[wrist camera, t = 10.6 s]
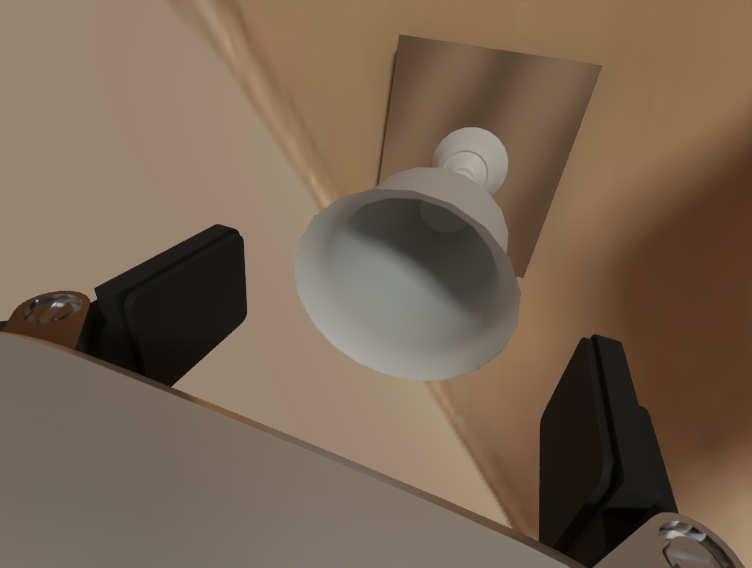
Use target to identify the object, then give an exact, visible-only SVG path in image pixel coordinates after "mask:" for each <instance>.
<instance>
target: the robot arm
mask: <svg viewBox="0 0 752 568" xmlns="http://www.w3.org/2000/svg"><path fill="white" fill-rule="evenodd" d="M95 293H96V296H97V300H95V301H94V302H92V303H91V302H90V299H89V298H88V297H87V296H86V295H84V294H82V293H80V292H75V291H56V292H49V293H46V294H42V295H38V296H36V297H33V298H31V299H29V300H27V301H25V302H23V303H22V304H20V305H19V306H18V307H17V308H16V309H15V310H14V311H13V313H12V315H11V317H10V318H9V320H8V321H1V322H0V568H745V567H744V565H743V564H742V563H741V561H740V560H739V559H738V557H737V556H736V554H735V553H734V552H733V550H732V549H731V548H730V547H729V546H728V545H727V544H726V543H725V542H724V541H723V540H722V539H721V538H720V537H719V536H717V535H716V534H715V533H713V532H712V531H711V530H709V529H708V528H707V527H705V526H704V525H702V524H701V523H699V522H697V521H695V520H693V519H691V518H689V517H687V516H684V515H680V514H679V513H678V510H677V506H676V503H675V499H674V496H673V493H672V489H671V486H670V483H669V479H668V476H667V472H666V469H665V466H664V462H663V459H662V455H661V452H660V449H659V445H658V442H657V438H656V435H655V432H654V428H653V425H652V421H651V418H650V415H649V413H648V411H647V409H645V408H644V407H642V406H639V405H638V401H637V397H636V394H635V390H634V386H633V383H632V379H631V375H630V371H629V368H628V364H627V360H626V357H625V353H624V349H623V346H622V343H621V342H620V341H617V340H613V339H610V338H606V337H603V336H600V335H596V334H594V335H593V336H592V337H591V338H590V339H588V338H585V337H583V338H582V339H581V340H580V342H579V344H578V346H577V348H576V350H575V352H574V354H573V356H572V358H571V360H570V362H569V364H568V366H567V368H566V369H565V371H564V373H563V375H562V377H561V379H560V381H559V383H558V385H557V387H556V389H555V391H554V393H553V395H552V397H551V399H550V401H549V403H548V405H547V407H546V409H545V411H544V413H543V415H542V418H541V423H540V487H539V542H538V541H536V540H534V539H532V538H530V537H528V536H526V535H524V534H522V533H520V532H518V531H515V530H513V529H511V528H508V527H506V526H504V525H502V524H499V523H497V522H495V521H492V520H490V519H488V518H485V517H483V516H481V515H478V514H476V513H474V512H472V511H469V510H467V509H465V508H462V507H460V506H458V505H455V504H453V503H451V502H449V501H446V500H444V499H442V498H439V497H437V496H434V495H432V494H430V493H427V492H425V491H422V490H420V489H418V488H415V487H413V486H411V485H408V484H406V483H403V482H401V481H399V480H396V479H393V478H391V477H389V476H386V475H384V474H382V473H379V472H377V471H374V470H372V469H370V468H367V467H365V466H362V465H360V464H358V463H355V462H353V461H350V460H348V459H346V458H343V457H341V456H338V455H336V454H334V453H331V452H329V451H326V450H324V449H321V448H319V447H317V446H314V445H312V444H309V443H307V442H304V441H302V440H299V439H297V438H294V437H292V436H290V435H287V434H285V433H282V432H280V431H278V430H275V429H273V428H270V427H268V426H265V425H263V424H261V423H258V422H255V421H253V420H251V419H248V418H246V417H243V416H241V415H238V414H236V413H233V412H231V411H229V410H226V409H224V408H221V407H219V406H216V405H214V404H211V403H209V402H207V401H204V400H202V399H199V398H197V397H194V396H192V395H189V394H187V393H184V392H182V391H179V390H177V389H174V388H172V386H173V385H174V384H175V383H176V382H177V381H178V380H179V379H180V378H182V377H183V376H184V375H185V374H186V373H187V372H188V371H189V370H190V369H191V368H192V367H194V366H195V365H196V364H197V363H198V362H199V361H200V360H202V359H203V358H204V357H205V356H206V355H207V354H208V353H209V352H210V351H211V350H212V349H214V348H215V347H216V346H217V345H218V344H219V343H220V342H221V341H223V340H224V339H225V338H226V337H227V336H228V335H229V334H230V333H232V332H233V330H235V329H236V328H237V327H238V326H239V325H240V324H241V323H242V322H243V321H244V320H245V318H246V315H247V300H246V278H245V258H244V242H243V238H242V236H240V234H239V232H238V231H237V230H236V229H234V228H230V227H227V226H223V225H220V224H217V225H214V226H212V227H210V228H208V229H206V230H204V231H202V232H200V233H199V234H196V235H195V236H193V237H191V238H189V239H187V240H185V241H183V242H181V243H179V244H177V245H176V246H174V247H172V248H170V249H168V250H166V251H164V252H162V253H161V254H158V255H157V256H155V257H153V258H151V259H149V260H147V261H145V262H143V263H142V264H140V265H138V266H136V267H134V268H132V269H130V270H128V271H126V272H124V273H122V274H120V275H119V276H117V277H115V278H113V279H111V280H109V281H107V282H105V283H103V284H101V285H100V286H98V287H96V288H95Z"/></svg>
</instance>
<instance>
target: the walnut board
mask: <svg viewBox="0 0 752 568" xmlns="http://www.w3.org/2000/svg"><path fill="white" fill-rule="evenodd" d="M601 68H602V66H601V65H594V64H588V63H581V62H575V61H568V60H562V59H555V58H549V57H542V56H536V55H529V54H523V53H516V52H510V51H503V50H496V49H490V48H483V47H477V46H470V45H464V44H457V43H451V42H444V41H438V40H431V39H425V38H418V37H412V36H405V35H399V41H398V48H397V55H396V63H395V70H394V77H393V84H392V92H391V99H390V106H389V113H388V120H387V128H386V135H385V142H384V149H383V157H382V164H381V171H380V178H379V184H380V183H381V182H383V181H384V180H386V179H387V178H389V177H390V176H392V175H393V174H395V173H399V172H402V171H406V170H409V169H413V168H416V167H425V168H432V160H433V157H434V154H435V150H436V148H437V147H438V145H439V144H440V143H441V141H442V140H443V139H444V138H445V137H446V136H448V135H449V134H450V133H452V132H453V131H456V130H459V129H462V128H468V127H478V128H481V129H484V130H487V131H489V132H491V133H492V134H493V135H495V136H496V137H497V138H499V140H500V141H501V143H502V144H503V146H504V147H505V149H506V153H507V157H508V170H507V175H506V177H505V179H504V182H503V184H502V185H501V186H500V187H499V189H498V190H497V191H496V192H495V193H494V194H492V195H491V197H492V198H493V199H494V201H495V202H496V203H497V205H498V206H499V207H500V209H501V210H502V213H503V216H504V220H505V223H506V226H507V230H508V244H507V255H508V257H509V258H510V260H511V263H512V267H513V270H514V273H515V276H518V277H522V278H523V277H524V275H525V272H526V269H527V267H528V264H529V261H530V259H531V256H532V253H533V251H534V248H535V245H536V243H537V240H538V237H539V234H540V232H541V229H542V226H543V224H544V221H545V218H546V216H547V213H548V210H549V208H550V205H551V202H552V200H553V197H554V194H555V191H556V189H557V186H558V183H559V181H560V178H561V175H562V173H563V170H564V167H565V165H566V162H567V159H568V156H569V154H570V151H571V148H572V146H573V143H574V140H575V138H576V135H577V132H578V130H579V127H580V124H581V122H582V119H583V116H584V113H585V111H586V108H587V105H588V103H589V100H590V97H591V95H592V92H593V89H594V87H595V84H596V81H597V79H598V76H599V73H600V70H601Z"/></svg>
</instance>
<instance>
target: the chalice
mask: <svg viewBox="0 0 752 568" xmlns="http://www.w3.org/2000/svg"><path fill="white" fill-rule="evenodd" d="M507 170H508V157H507V153H506V149H505V147H504V146H503V144H502V143H501V141H500V140H499V138H497V137H496V136H495V135H493V134H492V133H491V132H489V131H487V130H484V129H481V128H478V127H468V128H462V129H459V130H456V131H453V132H452V133H450V134H449V135H448V136H446V137H445V138H444V139H443V140H442V141H441V143H440V144H439V145H438V147H437V148H436V150H435V154H434V157H433V160H432V168H425V167H416V168H413V169H409V170H406V171H402V172H399V173H395V174H393V175H392V176H390V177H389V178H387V179H386V180H384V181H383V182H381V183H380V184H379V185H377V186H376V187H375V188H373V189H371V190H367V191H364V192H360V193H356V194H353V195H349V196H345V197H342V198H339V199H338V200H336V201H335V202H334V203H332V204H331V205H329V206H328V207H327V208H325V209H324V210H322V211H321V212H319V213H318V214H317V215H315V216H314V217H313V219H312V220H311V222H310V224H309V225H308V227H307V228H306V230H305V232H304V233H303V235H302V236H301V238H300V239H299V241H298V246H297V252H296V258H295V264H294V274H295V279H296V285H297V290H298V295H299V299H300V301H301V302H302V304H303V306H304V308H305V310H306V312H307V314H308V315H309V317H310V319H311V321H312V323H313V324H314V325H315V327H316V328H317V329H318V330H319V331H320V332H321V333H322V334H323V335H324V336H325V338H326V339H327V340H328V341H329V342H330V343H331V344H332V345H333V346H334V347H335V348H337V349H338V350H340V351H341V352H343V353H344V354H346V355H347V356H349V357H350V358H351V359H353V360H354V361H356V362H357V363H359V364H361V365H364V366H366V367H368V368H371V369H373V370H376V371H378V372H380V373H383V374H385V375H388V376H393V377H399V378H405V379H410V380H416V381H427V380H448V379H452V378H455V377H458V376H461V375H464V374H467V373H470V372H473V371H476V370H478V369H480V368H481V367H482V366H484V365H485V364H486V363H488V362H489V361H490V360H491V359H493V358H494V357H495V356H497V355H498V354H499V353H501V352H502V351H503V349H504V347H505V346H506V344H507V342H508V340H509V339H510V337H511V335H512V334H513V332H514V330H515V328H516V327H517V324H518V315H519V305H520V295H521V292H520V289H519V286H518V282H517V279H516V276H515V273H514V270H513V267H512V263H511V260H510V258H509V257H508V255H507V244H508V230H507V226H506V223H505V220H504V216H503V213H502V210H501V209H500V207H499V206H498V205H497V203H496V202H495V201H494V199H493V198H492V197H491V195H492V194H494V193H495V192H496V191H497V190H498V189H499V187H500V186H501V185H502V184H503V182H504V179H505V177H506V175H507Z"/></svg>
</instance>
